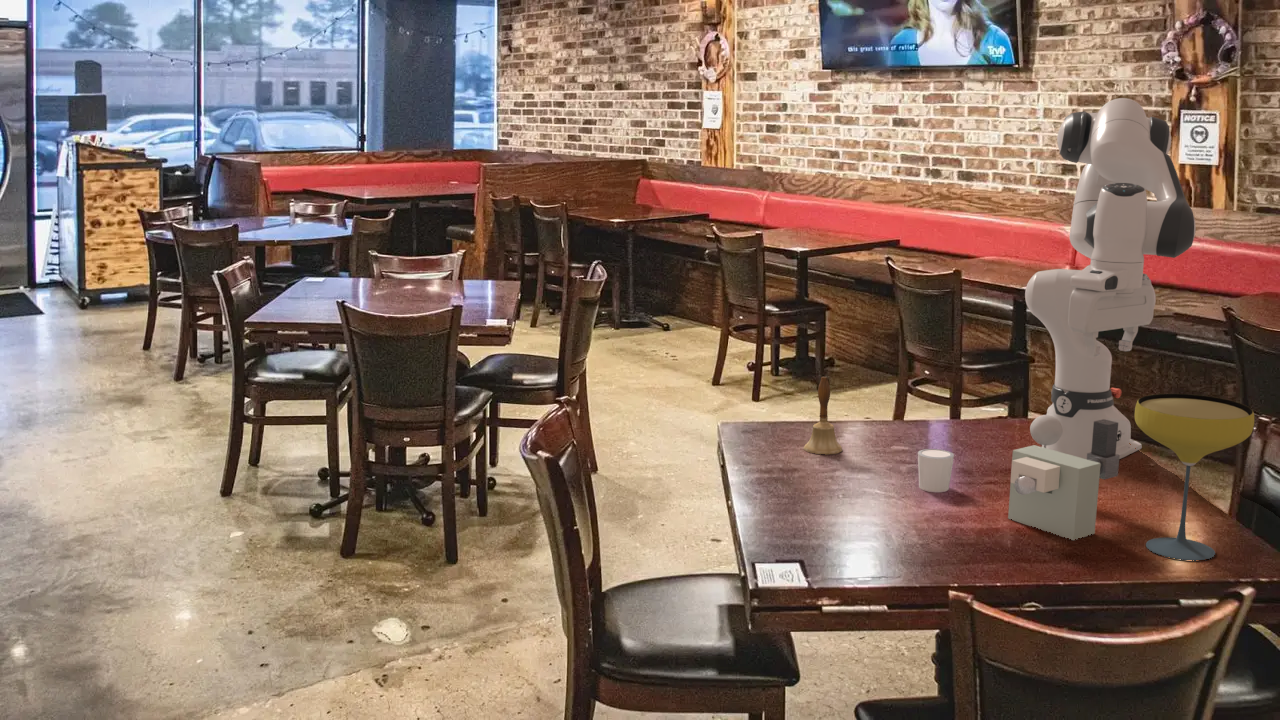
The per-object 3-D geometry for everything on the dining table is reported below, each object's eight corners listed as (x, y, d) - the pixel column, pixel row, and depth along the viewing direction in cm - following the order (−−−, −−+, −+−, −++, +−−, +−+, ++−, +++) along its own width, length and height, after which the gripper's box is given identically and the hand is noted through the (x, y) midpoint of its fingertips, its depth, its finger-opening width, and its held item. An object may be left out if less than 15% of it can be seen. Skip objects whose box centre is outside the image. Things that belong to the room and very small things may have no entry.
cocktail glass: (1257, 570, 204) (1275, 420, 199) (1144, 568, 205) (1158, 418, 200) (1213, 532, 222) (1227, 394, 217) (1108, 530, 223) (1120, 392, 218)
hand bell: (802, 453, 269) (805, 380, 266) (804, 443, 277) (806, 372, 274) (842, 455, 268) (845, 382, 264) (842, 445, 276) (845, 373, 272)
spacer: (1025, 478, 224) (1026, 456, 223) (1058, 488, 218) (1060, 466, 218) (1010, 482, 222) (1011, 460, 221) (1043, 492, 216) (1045, 470, 215)
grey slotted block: (1029, 512, 232) (1034, 445, 229) (1094, 533, 221) (1100, 463, 218) (1008, 518, 229) (1012, 450, 226) (1073, 540, 218) (1079, 468, 215)
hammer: (1098, 470, 234) (1103, 418, 232) (1117, 475, 231) (1122, 422, 229) (1011, 494, 220) (1015, 438, 218) (1030, 500, 217) (1034, 443, 215)
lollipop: (1018, 487, 247) (1024, 412, 244) (1043, 484, 249) (1048, 410, 246) (1040, 496, 241) (1046, 420, 238) (1064, 493, 243) (1070, 417, 240)
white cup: (952, 494, 242) (954, 459, 241) (916, 492, 244) (917, 456, 242) (951, 483, 249) (953, 449, 248) (915, 481, 250) (917, 447, 249)
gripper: (1135, 270, 233) (1128, 344, 235) (1064, 278, 221) (1058, 355, 224) (1166, 274, 228) (1159, 350, 230) (1095, 282, 216) (1089, 361, 219)
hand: (1108, 353), depth 227 cm, fingers open, 8 cm apart
